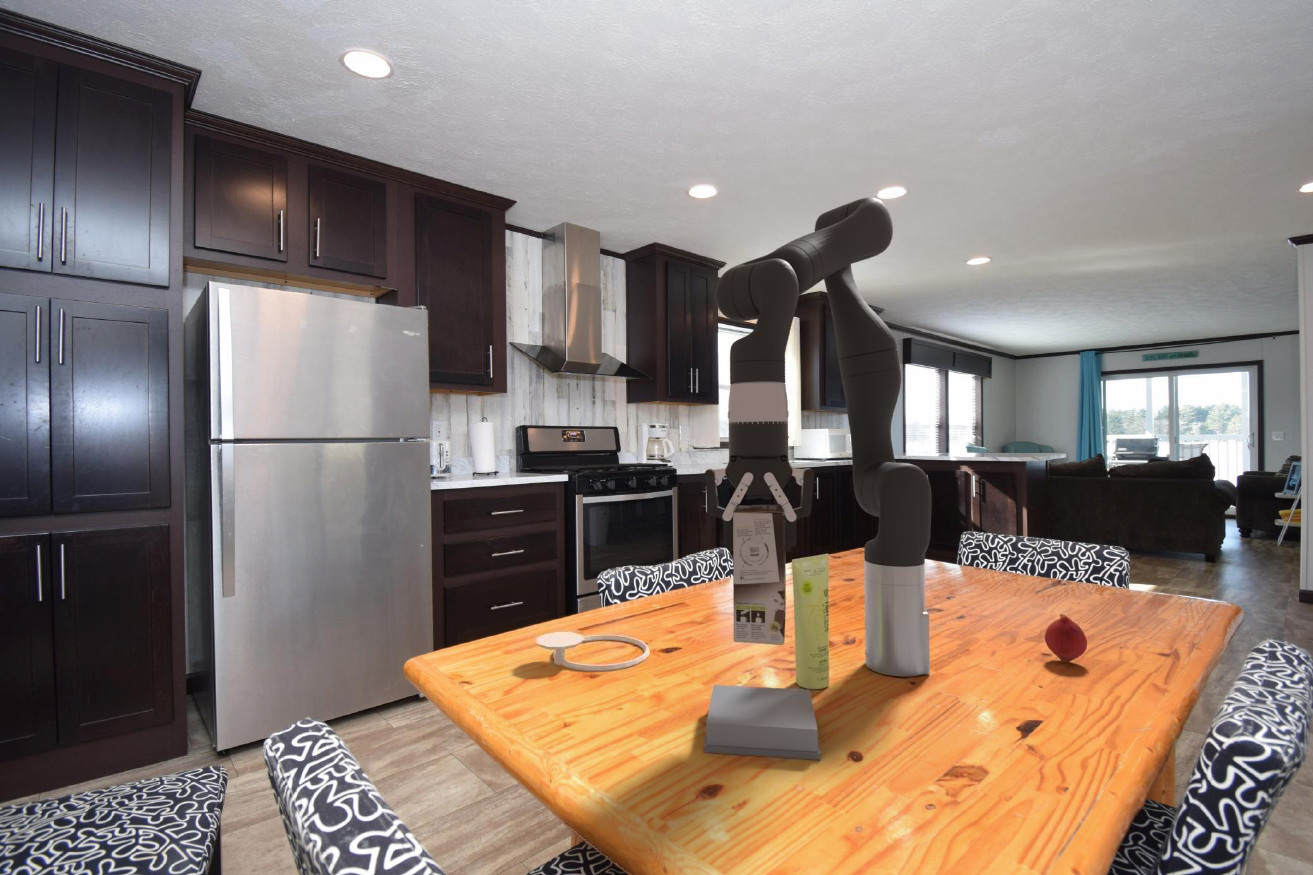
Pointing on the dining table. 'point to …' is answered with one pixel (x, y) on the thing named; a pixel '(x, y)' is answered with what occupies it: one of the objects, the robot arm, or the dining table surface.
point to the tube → (811, 620)
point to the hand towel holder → (570, 640)
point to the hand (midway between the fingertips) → (759, 549)
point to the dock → (762, 722)
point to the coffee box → (759, 574)
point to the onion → (1065, 639)
